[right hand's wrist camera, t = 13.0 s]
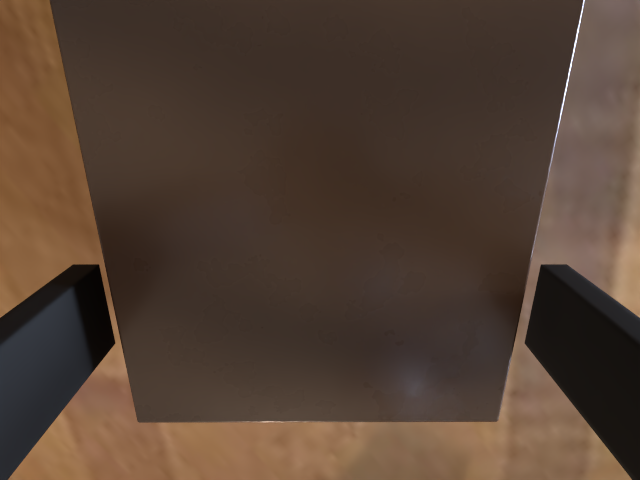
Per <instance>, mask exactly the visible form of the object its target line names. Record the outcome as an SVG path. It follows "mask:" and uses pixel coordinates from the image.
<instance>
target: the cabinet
mask: <svg viewBox="0 0 640 480" xmlns="http://www.w3.org/2000/svg"><path fill="white" fill-rule="evenodd" d="M584 3H585V0H50V4H51V9H52V14H53V19H54V23H55V28H56V33H57V38H58V43H59V47H60V52H61V57H62V62H63V66H64V71H65V76H66V81H67V86H68V90H69V95H70V100H71V105H72V110H73V114H74V119H75V124H76V129H77V133H78V138H79V143H80V148H81V153H82V157H83V162H84V167H85V172H86V176H87V181H88V186H89V191H90V196H91V200H92V205H93V210H94V215H95V220H96V224H97V229H98V234H99V239H100V243H101V248H102V253H103V258H104V263H105V267H106V272H107V277H108V282H109V286H110V291H111V296H112V301H113V306H114V310H115V315H116V320H117V325H118V329H119V334H120V339H121V344H122V349H123V353H124V358H125V363H126V368H127V373H128V377H129V382H130V387H131V392H132V396H133V401H134V406H135V411H136V416H137V420H138V422H497V421H498V419H499V414H500V410H501V405H502V400H503V395H504V390H505V385H506V380H507V376H508V371H509V366H510V361H511V356H512V351H513V347H514V342H515V337H516V332H517V327H518V322H519V317H520V313H521V308H522V303H523V298H524V293H525V288H526V284H527V279H528V274H529V269H530V264H531V259H532V254H533V250H534V245H535V240H536V235H537V230H538V225H539V221H540V216H541V211H542V206H543V201H544V196H545V191H546V187H547V182H548V177H549V172H550V167H551V162H552V158H553V153H554V148H555V143H556V138H557V133H558V129H559V124H560V119H561V114H562V109H563V104H564V99H565V95H566V90H567V85H568V80H569V75H570V70H571V66H572V61H573V56H574V51H575V46H576V41H577V36H578V32H579V27H580V22H581V17H582V12H583V7H584Z"/></svg>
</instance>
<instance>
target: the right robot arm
mask: <svg viewBox="0 0 640 480" xmlns="http://www.w3.org/2000/svg"><path fill="white" fill-rule="evenodd" d="M114 344H115V339H114V334H113V330H112V325H111V320H110V315H109V310H108V306H107V301H106V296H105V291H104V286H103V281H102V277H101V272H100V267H99V265H72V266H71V267H69V268H68V269H66V270H65V271H64V272H62V273H61V274H60V275H58V276H57V277H56V278H54V279H53V280H51V281H50V282H49V283H47V284H46V285H45V286H43V287H42V288H41V289H39V290H38V291H36V292H35V293H34V294H32V295H31V296H30V297H28V298H27V299H25V300H24V301H23V302H21V303H20V304H19V305H17V306H16V307H15V308H13V309H12V310H10V311H9V312H8V313H6V314H5V315H4V316H2V317H1V318H0V480H8V478H9V477H10V476H11V475H12V473H13V472H14V471H15V470H16V468H17V467H18V466H19V465H20V463H21V462H22V461H23V459H24V458H25V457H26V456H27V454H28V453H29V452H30V451H31V449H32V448H33V447H34V446H35V444H36V443H37V442H38V440H39V439H40V438H41V437H42V435H43V434H44V433H45V432H46V430H47V429H48V428H49V427H50V425H51V424H52V423H53V421H54V420H55V419H56V418H57V416H58V415H59V414H60V413H61V411H62V410H63V409H64V408H65V406H66V405H67V404H68V402H69V401H70V400H71V399H72V397H73V396H74V395H75V394H76V392H77V391H78V390H79V389H80V387H81V386H82V385H83V383H84V382H85V381H86V380H87V378H88V377H89V376H90V375H91V373H92V372H93V371H94V370H95V368H96V367H97V366H98V364H99V363H100V362H101V361H102V359H103V358H104V357H105V356H106V354H107V353H108V352H109V351H110V349H111V348H112V347H113V346H114ZM525 344H526V346H527V347H528V348H529V349H530V351H531V352H532V353H533V354H534V356H535V357H536V358H537V359H538V361H539V362H540V363H541V364H542V366H543V367H544V368H545V370H546V371H547V372H548V373H549V375H550V376H551V377H552V378H553V380H554V381H555V382H556V383H557V385H558V386H559V387H560V389H561V390H562V391H563V392H564V394H565V395H566V396H567V397H568V399H569V400H570V401H571V402H572V404H573V405H574V406H575V408H576V409H577V410H578V411H579V413H580V414H581V415H582V416H583V418H584V419H585V420H586V421H587V423H588V424H589V425H590V427H591V428H592V429H593V430H594V432H595V433H596V434H597V435H598V437H599V438H600V439H601V440H602V442H603V443H604V444H605V446H606V447H607V448H608V449H609V451H610V452H611V453H612V454H613V456H614V457H615V458H616V459H617V461H618V462H619V463H620V465H621V466H622V467H623V468H624V470H625V471H626V472H627V473H628V475H629V476H630V477H631V478H632V480H640V318H639V317H638V316H636V315H635V314H634V313H632V312H631V311H630V310H628V309H627V308H625V307H624V306H623V305H621V304H620V303H619V302H617V301H616V300H615V299H613V298H612V297H610V296H609V295H608V294H606V293H605V292H604V291H602V290H601V289H599V288H598V287H597V286H595V285H594V284H593V283H591V282H590V281H589V280H587V279H586V278H584V277H583V276H582V275H580V274H579V273H578V272H576V271H575V270H574V269H572V268H571V267H569V266H568V265H541V267H540V272H539V277H538V281H537V286H536V291H535V296H534V301H533V306H532V310H531V315H530V320H529V325H528V330H527V334H526V339H525Z"/></svg>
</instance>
